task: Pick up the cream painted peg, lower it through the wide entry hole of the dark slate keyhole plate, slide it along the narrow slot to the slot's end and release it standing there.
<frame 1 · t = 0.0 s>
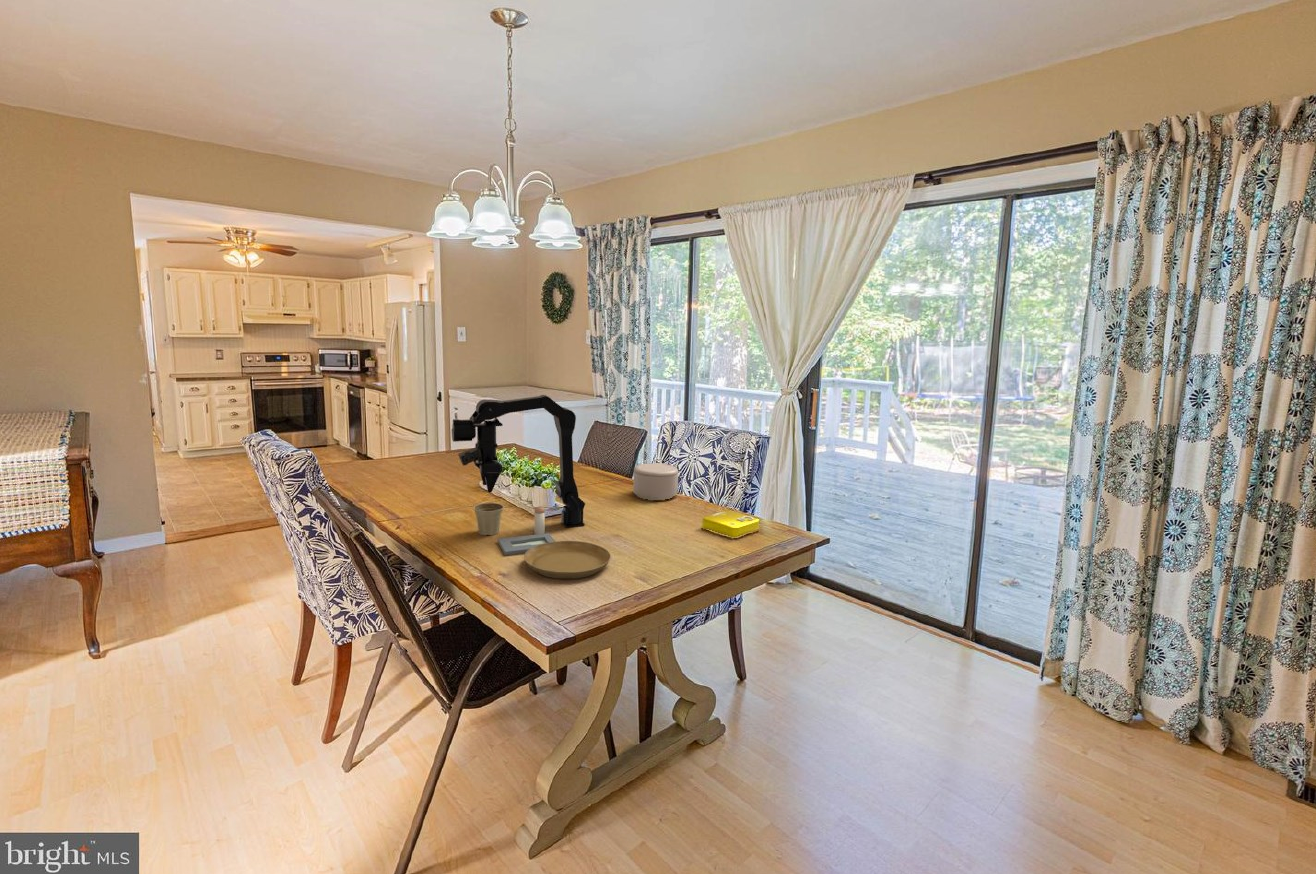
hand: (487, 488, 197), 15 cm above the table, fingers open, 9 cm apart
container: (655, 496, 251), on the table
element tile: (730, 531, 212), on the table
keyhole plate: (528, 545, 189), on the table
plant saucer: (567, 566, 175), on the table
cream peg: (539, 533, 200), on the table
flower pot: (489, 533, 199), on the table
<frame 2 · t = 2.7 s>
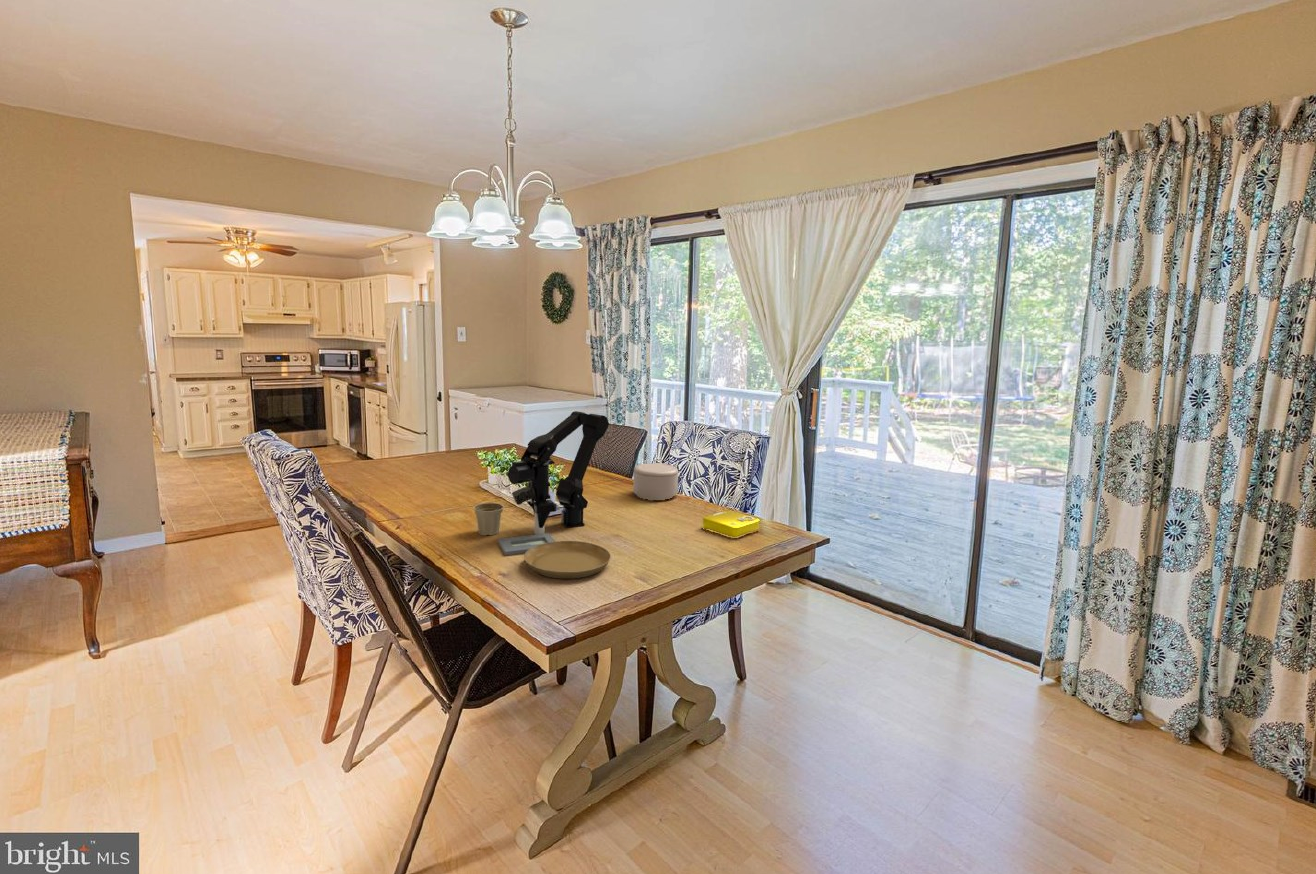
hand: (539, 526, 200), 3 cm above the table, fingers closed on cream peg, 3 cm apart
cream peg: (539, 533, 200), on the table, touching gripper
everything else where it was.
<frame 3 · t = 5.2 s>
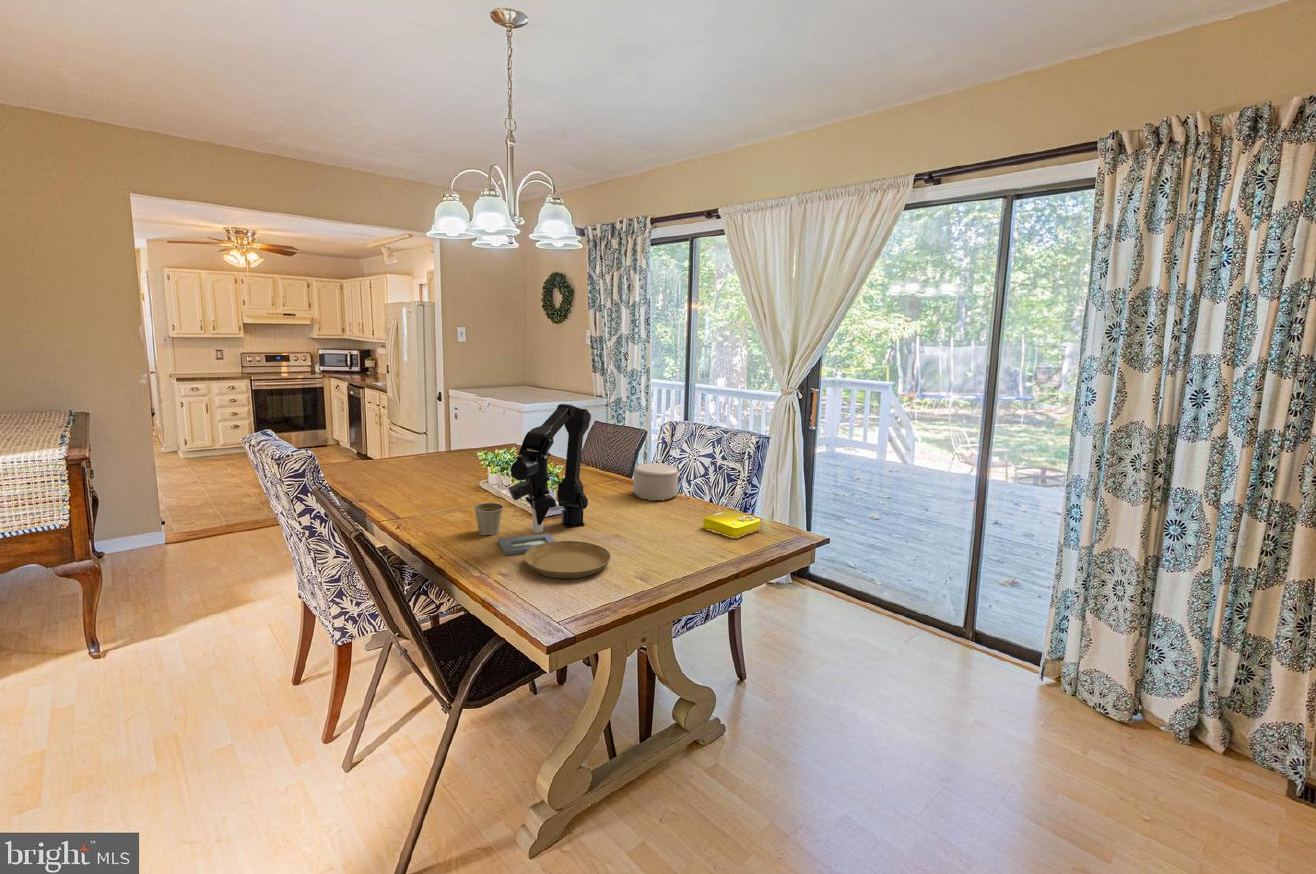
hand: (538, 522, 189), 7 cm above the table, fingers closed on cream peg, 3 cm apart
cream peg: (537, 530, 189), point 4 cm above the table, touching gripper
everything else where it was.
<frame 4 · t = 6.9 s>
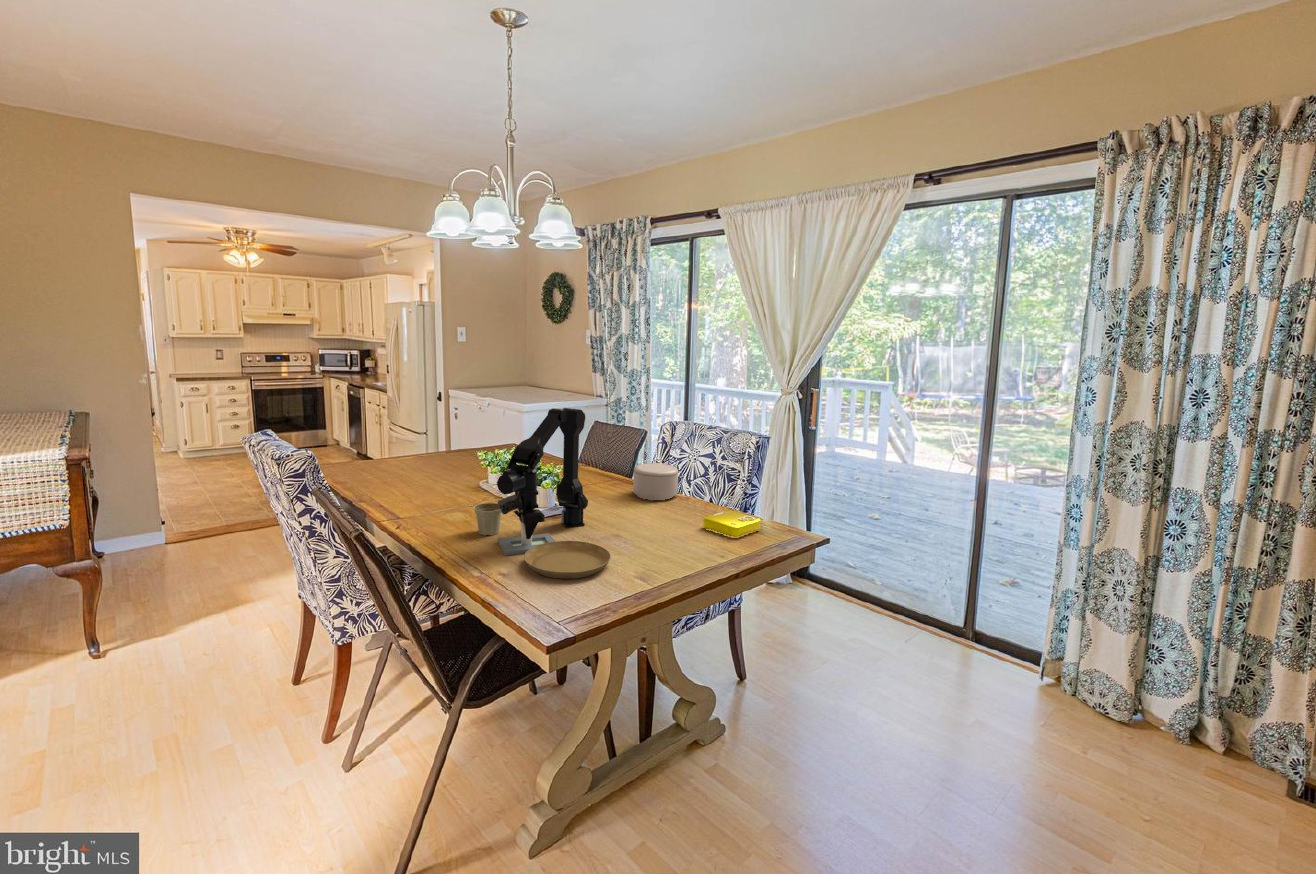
hand: (527, 536, 188), 3 cm above the table, fingers closed on cream peg, 3 cm apart
cream peg: (526, 544, 188), resting on keyhole plate, touching gripper
everything else where it was.
when the fingers open (3 cm above the table, at t = 7.7 s): cream peg stays where it is, resting on keyhole plate.
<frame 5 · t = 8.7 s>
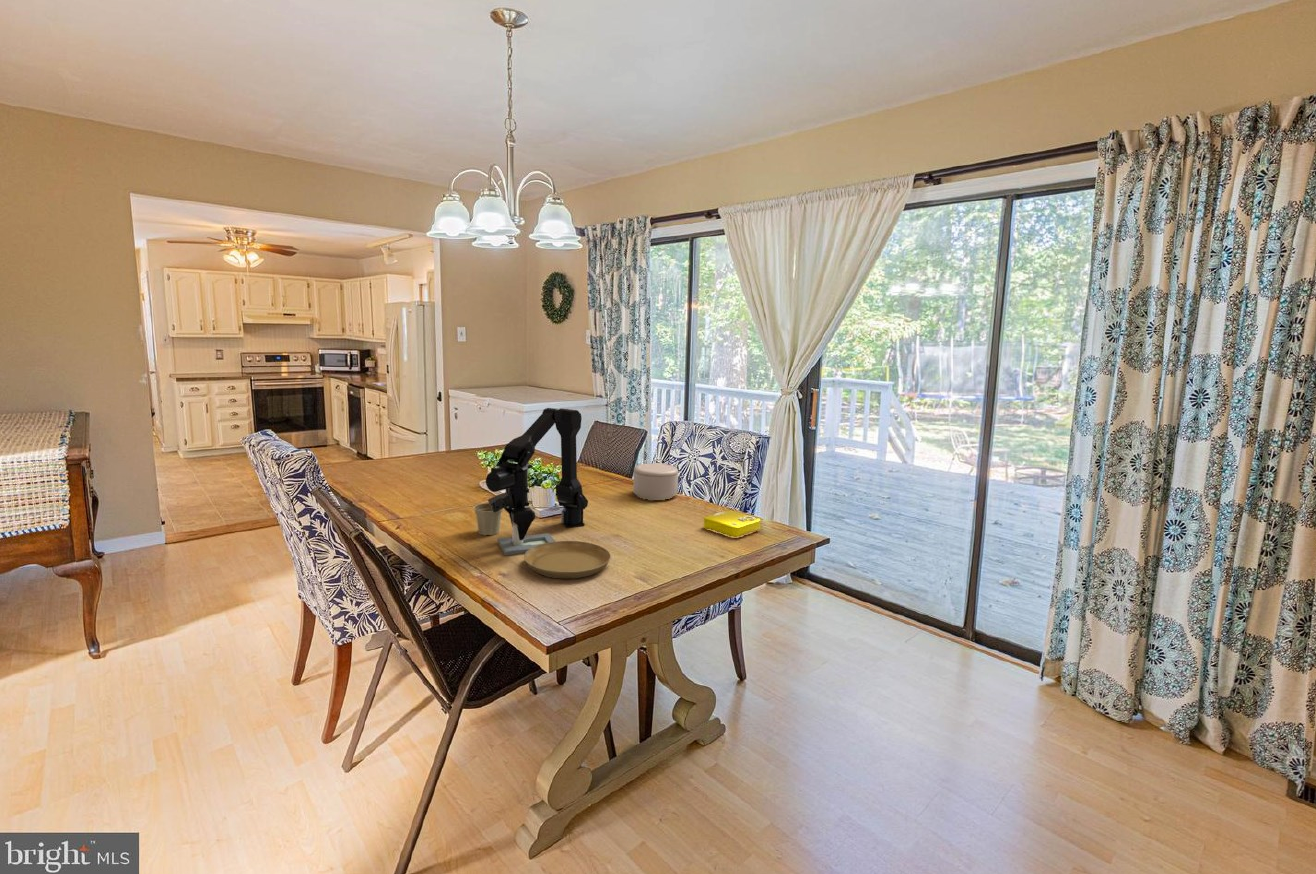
hand: (518, 535, 187), 4 cm above the table, fingers open, 9 cm apart
cream peg: (517, 546, 187), resting on keyhole plate
everything else where it was.
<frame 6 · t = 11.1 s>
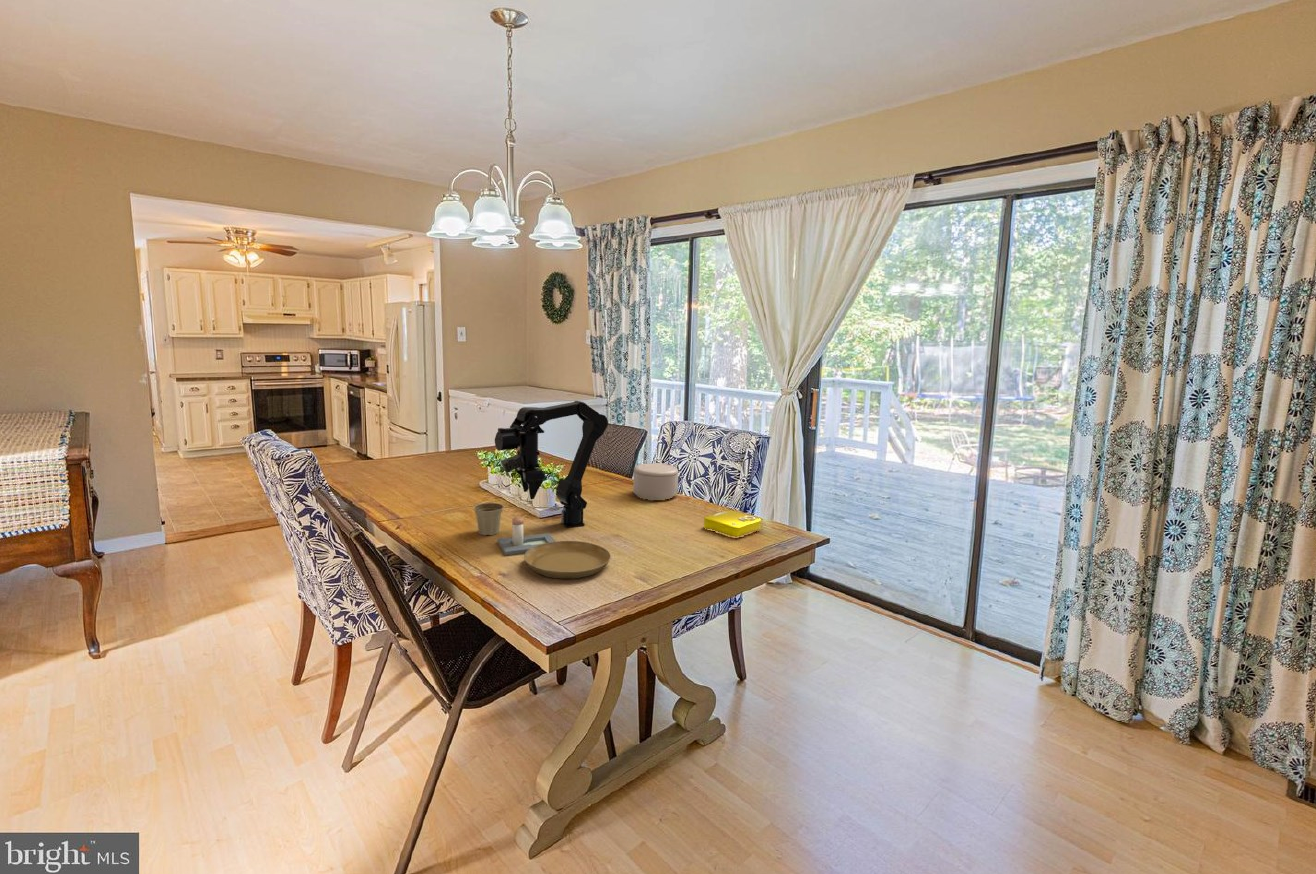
hand: (528, 495, 199), 13 cm above the table, fingers open, 9 cm apart
nothing on the table moved.
at the end: cream peg 0.1 cm from the target spot on the keyhole plate, point 0.2 cm above the keyhole plate's base; cream peg tilted 0°; the gripper is holding nothing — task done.
